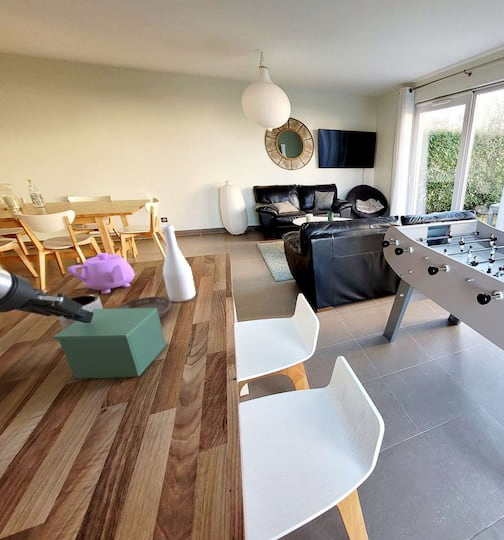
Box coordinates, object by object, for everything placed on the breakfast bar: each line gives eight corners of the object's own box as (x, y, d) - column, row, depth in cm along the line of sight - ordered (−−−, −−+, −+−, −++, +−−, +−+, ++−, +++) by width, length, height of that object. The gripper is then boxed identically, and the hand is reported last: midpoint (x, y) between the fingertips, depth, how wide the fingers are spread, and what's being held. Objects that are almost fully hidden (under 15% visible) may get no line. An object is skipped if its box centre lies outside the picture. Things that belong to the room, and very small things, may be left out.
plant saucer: (144, 332, 94) (142, 324, 93) (98, 325, 97) (95, 317, 96) (183, 306, 111) (182, 299, 109) (143, 301, 113) (141, 294, 112)
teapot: (90, 304, 109) (78, 268, 103) (69, 291, 118) (56, 257, 112) (147, 286, 125) (139, 254, 119) (125, 276, 134) (116, 245, 128)
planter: (54, 332, 92) (43, 306, 88) (91, 315, 102) (83, 291, 98) (80, 338, 90) (70, 312, 86) (115, 320, 100) (107, 296, 96)
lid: (53, 339, 70) (52, 336, 69) (96, 311, 82) (95, 308, 82) (126, 337, 71) (125, 335, 71) (157, 310, 84) (156, 308, 84)
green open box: (74, 378, 74) (58, 339, 70) (111, 346, 87) (99, 311, 82) (138, 376, 76) (126, 338, 71) (166, 345, 89) (157, 310, 84)
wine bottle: (184, 304, 112) (168, 229, 101) (163, 301, 114) (145, 227, 102) (201, 293, 121) (188, 223, 110) (181, 291, 122) (166, 221, 111)
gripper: (-59, 308, 52) (57, 332, 73) (21, 307, 53) (111, 331, 75) (-38, 270, 55) (67, 304, 76) (37, 270, 56) (119, 303, 78)
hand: (89, 317), depth 75 cm, fingers closed
